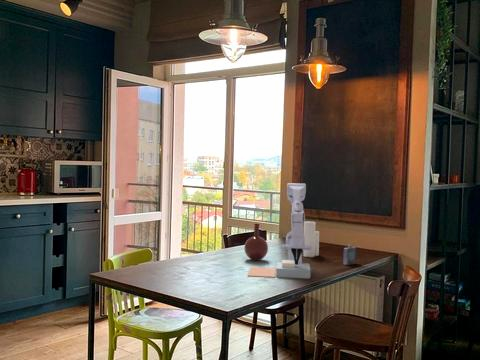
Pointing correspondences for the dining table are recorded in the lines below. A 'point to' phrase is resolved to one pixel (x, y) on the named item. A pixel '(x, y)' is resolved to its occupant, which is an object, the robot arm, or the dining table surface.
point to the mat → (262, 272)
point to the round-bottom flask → (256, 246)
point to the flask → (349, 255)
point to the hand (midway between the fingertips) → (296, 264)
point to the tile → (288, 263)
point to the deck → (293, 271)
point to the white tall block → (311, 239)
